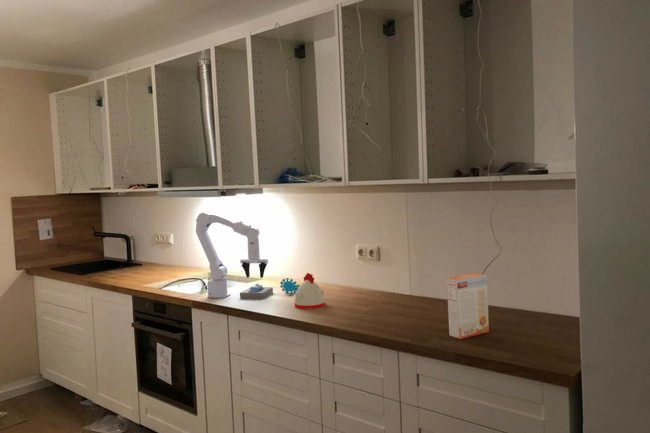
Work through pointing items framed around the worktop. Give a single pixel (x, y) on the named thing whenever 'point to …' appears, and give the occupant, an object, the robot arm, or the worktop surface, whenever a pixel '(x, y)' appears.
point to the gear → (289, 286)
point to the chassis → (256, 293)
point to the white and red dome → (309, 294)
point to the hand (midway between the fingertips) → (254, 277)
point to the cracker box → (467, 305)
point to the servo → (256, 288)
